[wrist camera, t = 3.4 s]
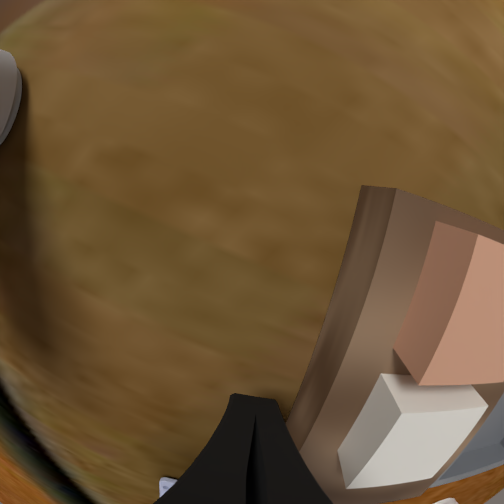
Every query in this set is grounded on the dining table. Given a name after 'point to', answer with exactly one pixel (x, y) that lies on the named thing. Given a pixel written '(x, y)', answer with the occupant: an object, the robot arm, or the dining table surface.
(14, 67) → the energy drink can
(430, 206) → the board
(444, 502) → the foam cup
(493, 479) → the dining table surface
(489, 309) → the tile
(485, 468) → the box
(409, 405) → the tile
